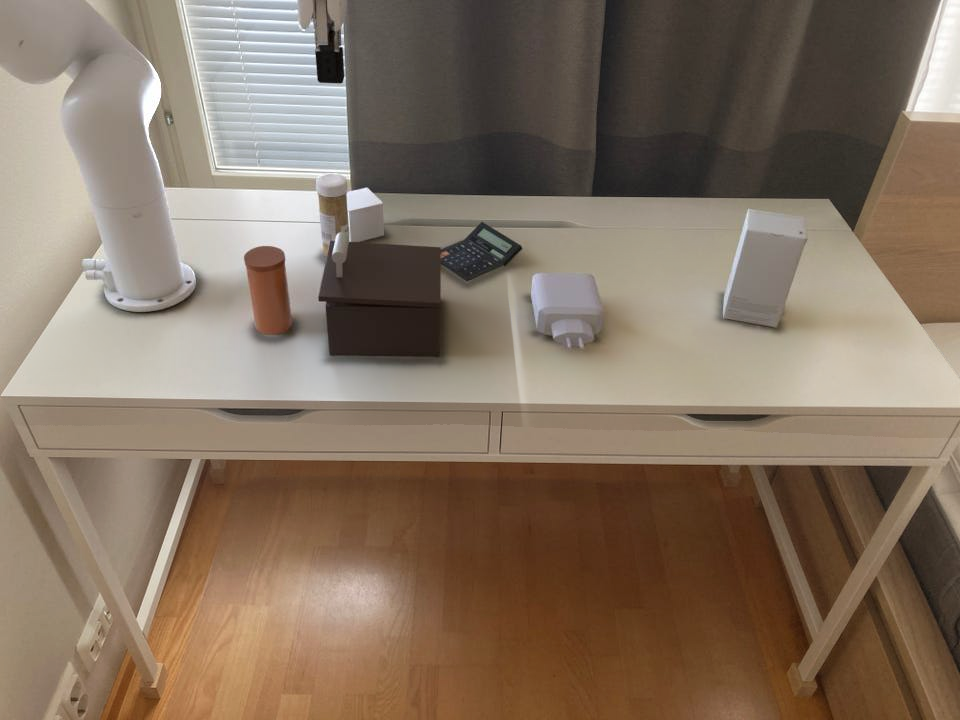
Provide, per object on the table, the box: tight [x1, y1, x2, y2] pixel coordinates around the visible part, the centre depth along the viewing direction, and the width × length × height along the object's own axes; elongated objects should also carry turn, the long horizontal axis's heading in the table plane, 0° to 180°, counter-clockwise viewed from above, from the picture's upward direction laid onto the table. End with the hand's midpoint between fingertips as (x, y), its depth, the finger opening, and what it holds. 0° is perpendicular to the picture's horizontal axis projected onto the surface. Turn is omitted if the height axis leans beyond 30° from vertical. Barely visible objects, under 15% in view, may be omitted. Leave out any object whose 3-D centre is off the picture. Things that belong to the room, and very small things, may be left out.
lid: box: [317, 232, 442, 309], centre depth 105 cm, size 15×14×5 cm
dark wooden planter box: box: [325, 302, 441, 358], centre depth 110 cm, size 15×14×9 cm
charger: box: [530, 272, 605, 350], centre depth 113 cm, size 5×9×15 cm
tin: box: [243, 245, 293, 336], centre depth 108 cm, size 5×5×12 cm
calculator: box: [441, 221, 523, 282], centre depth 127 cm, size 9×12×3 cm
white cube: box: [346, 187, 385, 242], centre depth 131 cm, size 6×6×6 cm
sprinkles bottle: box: [315, 172, 350, 258], centre depth 122 cm, size 5×5×14 cm
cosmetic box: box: [722, 208, 809, 329], centre depth 115 cm, size 8×7×16 cm
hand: (331, 80), depth 101 cm, fingers closed
